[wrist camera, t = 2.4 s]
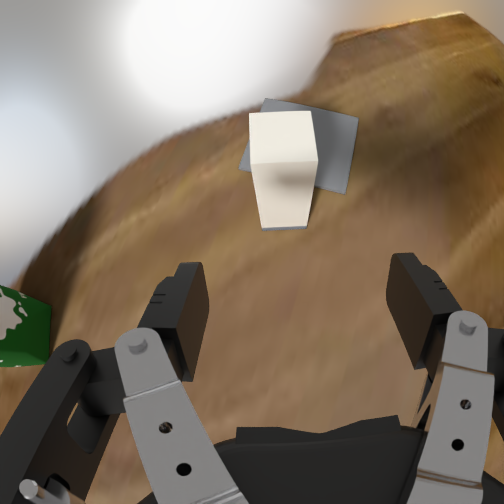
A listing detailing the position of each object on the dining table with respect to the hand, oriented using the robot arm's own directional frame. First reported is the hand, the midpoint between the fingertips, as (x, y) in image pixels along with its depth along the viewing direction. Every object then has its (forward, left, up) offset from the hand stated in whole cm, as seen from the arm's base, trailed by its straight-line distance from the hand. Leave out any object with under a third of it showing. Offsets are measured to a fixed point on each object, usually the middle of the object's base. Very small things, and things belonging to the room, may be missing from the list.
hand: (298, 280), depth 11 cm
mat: (-20, -4, -20) cm, 29 cm away
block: (-11, -4, -20) cm, 23 cm away
